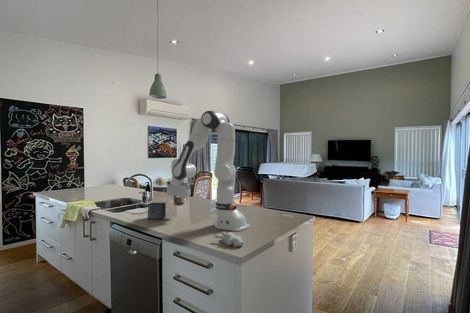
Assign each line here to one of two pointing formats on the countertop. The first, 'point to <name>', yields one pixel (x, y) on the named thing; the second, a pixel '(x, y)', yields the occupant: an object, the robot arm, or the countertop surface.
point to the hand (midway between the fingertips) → (179, 202)
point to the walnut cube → (178, 201)
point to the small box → (157, 211)
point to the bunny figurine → (230, 239)
